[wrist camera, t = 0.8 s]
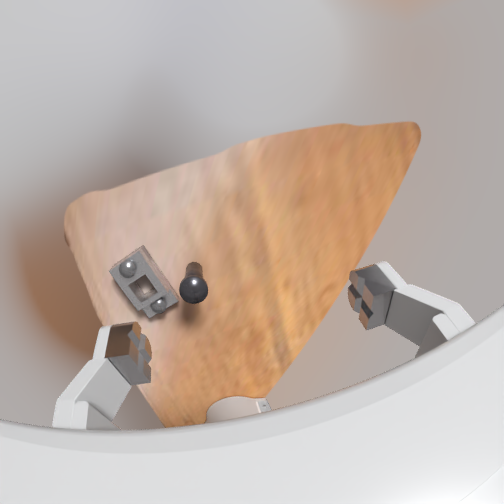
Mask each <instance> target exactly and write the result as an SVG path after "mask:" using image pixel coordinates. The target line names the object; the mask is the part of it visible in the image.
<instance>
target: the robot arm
mask: <svg viewBox="0 0 504 504" xmlns="http://www.w3.org/2000/svg"><path fill="white" fill-rule="evenodd" d="M349 280H350V281H351V283H352V284H351V285H350V286H349V288H348V298H349V302H350V305H351V307H352V308H353V310H354V311H356V312H358V313H360V314H359V320H360V321H361V323H362V324H363V326H364V328H365V329H366V330H369V329H372V328H375V327H377V326H381V325H384V324H385V325H386V326H387V327H389V328H390V329H392V330H394V331H395V332H397V333H398V334H400V335H402V336H404V337H405V338H407V339H409V340H410V341H412V342H413V343H415V344H416V345H418V346H420V348H419V350H418V352H417V354H416V356H415V358H414V359H413V360H410V361H408V362H406V363H404V364H402V365H399V366H397V367H395V368H393V369H391V370H388V371H386V372H384V373H382V374H379V375H377V376H374V377H372V378H370V379H367V380H365V381H362V382H360V383H357V384H354V385H352V386H349V387H346V388H343V389H341V390H338V391H335V392H332V393H329V394H326V395H323V396H320V397H317V398H314V399H310V400H307V401H304V402H300V403H297V404H293V405H290V406H286V407H282V408H278V409H275V410H272V409H271V407H270V406H269V403H268V401H267V399H265V398H256V399H253V398H248V397H241V396H235V397H228V398H224V399H222V400H219V401H217V402H215V403H214V404H213V405H212V406H211V407H210V408H209V409H208V411H207V414H206V418H207V419H206V422H205V423H204V424H197V425H189V426H180V427H171V428H159V429H145V430H121V429H120V428H119V427H118V426H116V425H115V424H114V423H112V420H113V418H114V416H115V415H116V413H117V411H118V409H119V407H120V406H121V404H122V402H123V400H124V398H125V397H126V395H127V393H128V392H129V390H130V388H131V385H137V384H144V383H151V367H150V366H149V365H148V363H149V361H150V360H151V359H152V351H151V345H150V343H149V340H148V338H147V337H146V336H145V335H144V334H142V333H141V327H140V325H139V324H138V322H129V323H122V324H116V325H111V326H103V327H101V328H100V330H99V333H98V338H97V342H96V346H95V351H94V355H93V360H89V361H88V363H87V364H86V365H85V366H84V368H83V369H82V370H81V371H80V372H79V373H78V375H77V376H76V377H75V378H74V380H73V381H72V382H71V383H70V384H69V386H68V387H67V388H66V389H65V391H64V392H63V393H62V394H61V396H60V397H59V398H58V399H57V402H56V407H55V413H54V419H53V425H52V427H45V426H37V425H30V424H23V423H18V422H12V421H7V420H2V419H0V504H504V305H502V306H501V307H500V308H498V309H497V310H496V311H494V312H492V313H491V314H490V315H488V316H487V317H485V318H484V319H482V320H481V321H479V322H478V323H475V322H474V321H473V319H472V318H470V316H469V315H468V314H467V312H466V311H465V310H464V309H463V308H462V307H461V305H460V304H459V303H457V302H454V301H452V300H449V299H447V298H444V297H442V296H439V295H437V294H434V293H432V292H429V291H427V290H424V289H422V288H419V287H417V286H414V285H412V284H409V285H407V284H406V283H405V281H404V280H403V279H402V278H401V277H400V276H399V275H398V273H397V272H396V271H395V270H394V269H393V268H392V267H391V266H390V265H389V264H388V262H386V261H382V262H379V263H376V264H373V265H369V266H366V267H363V268H359V269H356V270H352V271H351V272H350V276H349Z"/></svg>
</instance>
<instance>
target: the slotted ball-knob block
mask: <svg viewBox="0 0 504 504" xmlns="http://www.w3.org/2000/svg"><path fill="white" fill-rule="evenodd" d="M109 272H110V273H111V275H112V276H113V278H114V279H115V281H116V282H117V283H118V285H119V286H120V288H121V289H122V290H123V292H124V293H125V294H126V296H127V297H128V298H129V300H130V301H131V302H132V304H133V305H134V306H135V308H136V309H137V310H138V311H139V310H141V309H142V310H143V311H144V312H145V314H146V315H147V316H148V317H149V318H151V317H152V316H154V315H156V314H158V313H163V312H164V311H165V310H166V308H168V307H169V306H171V305H173V304H174V303H176V302H178V300H179V296H178V295H177V293H176V292H175V291H174V289H173V288H172V286H171V285H170V284H169V282H168V281H167V279H166V278H165V276H164V275H163V273H162V272H161V271H160V269H159V268H158V266H157V265H156V263H155V262H154V260H153V259H152V257H151V256H150V254H149V253H148V251H147V250H146V248H145V247H144V245H143V246H141V247H140V248H138V249H137V250H135V251H134V252H132V253H131V254H129V255H128V256H126V257H125V258H123V259H122V260H120V261H119V262H118V263H116V264H115V265H114V266H113V267H112V268H111V269H110V271H109ZM143 275H146V276H147V277H148V279H149V280H150V282H151V283H152V284H153V286H154V287H155V288H154V289H152V290H151V291H149V292H147V293H146V294H144V293H143V291H142V290H141V289H140V287H139V286H138V284H137V283H136V282H135V280H137V279H139V278H140V277H142V276H143Z"/></svg>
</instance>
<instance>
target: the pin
mask: <svg viewBox="0 0 504 504" xmlns="http://www.w3.org/2000/svg"><path fill="white" fill-rule="evenodd" d="M179 292H180V295H181V297H182V298H183V300H185V301H186V302H188V303H192V304H196V303H200V302H202V301H203V300H204V299H205V298H206V296H207V294H208V286H207V283H206V281H205V280H204V279H203V273H202V266H201V265H200V264H199V263H197V262H192V263H190V264H188V266H187V268H186V276H185V278H184V279H183V280H182V281H181V283H180V289H179Z"/></svg>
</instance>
